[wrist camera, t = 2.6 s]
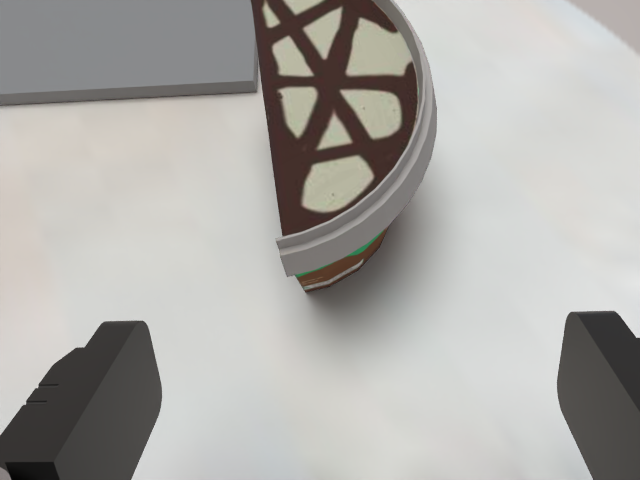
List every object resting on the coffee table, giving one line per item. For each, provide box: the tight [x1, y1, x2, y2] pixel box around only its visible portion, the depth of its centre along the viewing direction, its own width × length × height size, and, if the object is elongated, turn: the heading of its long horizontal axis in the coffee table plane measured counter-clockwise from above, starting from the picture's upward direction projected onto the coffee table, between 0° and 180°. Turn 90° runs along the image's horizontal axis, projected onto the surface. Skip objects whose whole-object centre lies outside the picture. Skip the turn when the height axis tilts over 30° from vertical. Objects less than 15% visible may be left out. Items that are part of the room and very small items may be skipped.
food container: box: [250, 0, 437, 293], centre depth 24 cm, size 12×6×10 cm, turn 8°
